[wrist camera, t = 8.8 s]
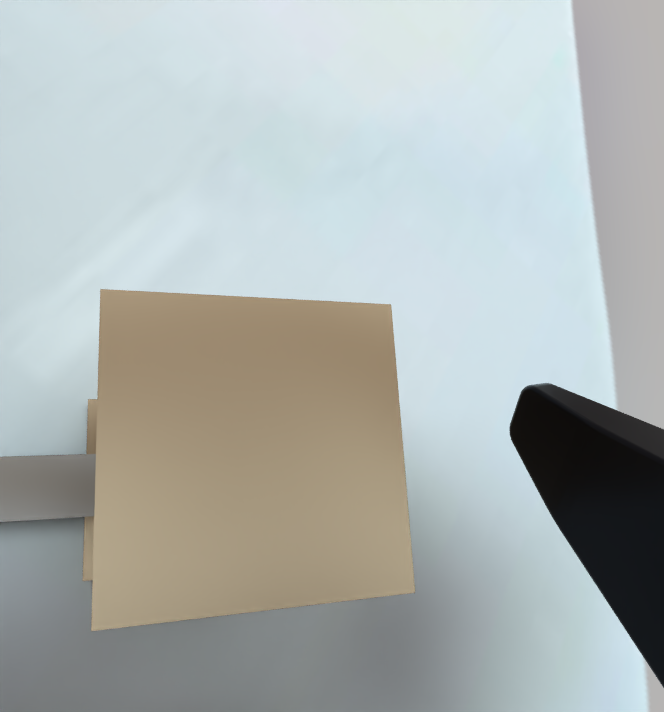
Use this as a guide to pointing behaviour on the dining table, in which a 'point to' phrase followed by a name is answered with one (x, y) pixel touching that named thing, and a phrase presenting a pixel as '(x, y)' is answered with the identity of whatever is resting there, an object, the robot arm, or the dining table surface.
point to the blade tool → (232, 459)
